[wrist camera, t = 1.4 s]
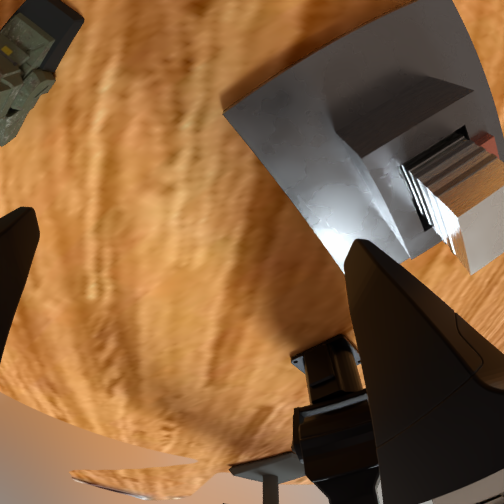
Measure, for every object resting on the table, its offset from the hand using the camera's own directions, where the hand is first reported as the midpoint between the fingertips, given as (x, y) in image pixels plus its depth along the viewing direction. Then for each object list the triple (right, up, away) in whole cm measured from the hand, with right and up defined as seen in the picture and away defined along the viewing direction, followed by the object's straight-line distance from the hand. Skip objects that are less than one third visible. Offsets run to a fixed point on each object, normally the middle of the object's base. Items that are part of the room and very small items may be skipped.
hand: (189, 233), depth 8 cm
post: (+12, +6, +11) cm, 18 cm away
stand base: (+12, +7, +12) cm, 19 cm away
